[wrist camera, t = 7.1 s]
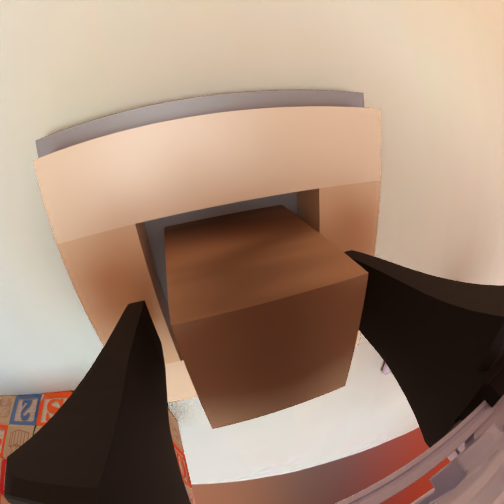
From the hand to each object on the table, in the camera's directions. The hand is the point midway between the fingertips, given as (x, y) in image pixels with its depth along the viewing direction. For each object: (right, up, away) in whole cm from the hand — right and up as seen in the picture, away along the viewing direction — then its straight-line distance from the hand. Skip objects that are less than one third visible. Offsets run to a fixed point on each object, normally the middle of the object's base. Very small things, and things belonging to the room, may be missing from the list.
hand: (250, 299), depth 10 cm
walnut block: (-1, +1, +3) cm, 3 cm away
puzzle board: (-1, +2, +4) cm, 4 cm away
